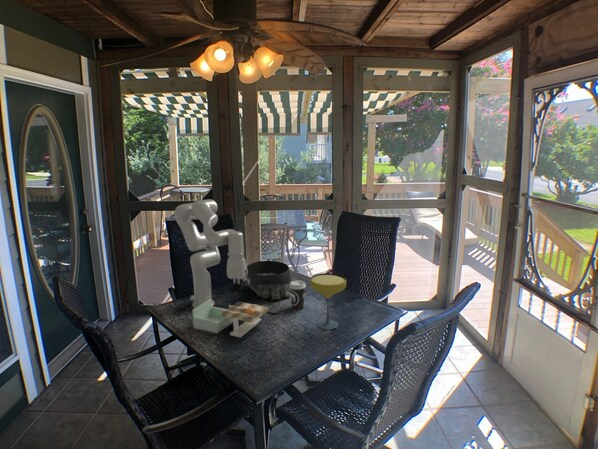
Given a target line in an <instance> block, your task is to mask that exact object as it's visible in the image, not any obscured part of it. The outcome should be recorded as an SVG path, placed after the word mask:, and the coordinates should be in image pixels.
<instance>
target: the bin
mask: <svg viewBox="0 0 598 449" xmlns="http://www.w3.org/2000/svg"><path fill="white" fill-rule="evenodd" d="M212 300H213V299H210V300H208V301H206V302H205V303H203V304H201V305H200V306H198V307H196V308H193V309H192V310H191V311H192V324H193V329H196V330H201V331H204V332H208V333H212V334H219V333H220V332H222V331H223V330H224V329H226V328H227V327H229V326H230V325H231V324H233V318H228V317H223V316H221V314H222V310H228V308H227V309H226V308H222V307H217V306H214V305H213V306H212Z"/></svg>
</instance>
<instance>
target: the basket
mask: <svg viewBox="0 0 598 449" xmlns="http://www.w3.org/2000/svg"><path fill="white" fill-rule="evenodd" d="M247 272H248V275H247V280H246V283H247V285H248V287H249V288H250V289H251V290H252V291H253V292H254V293H256V296H257V297H258V298H261V299H262V300H269V299H270V298H271V299H270V301H278V300H283V298H284V299H285V298H287V299H289V298H290V299H291V294H290V288H289V285H290V283H291V282H292V281H291V280H292V279H291V271H290V266H289V265H288V264H286V263H284V262H282V261H276V260H259V261H254V262H252V263H250V264H247Z"/></svg>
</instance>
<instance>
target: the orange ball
mask: <svg viewBox="0 0 598 449" xmlns="http://www.w3.org/2000/svg"><path fill="white" fill-rule="evenodd" d="M246 314H247V315H253V314H254V309H253V308H248V309H247V310H246Z"/></svg>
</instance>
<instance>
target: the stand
mask: <svg viewBox="0 0 598 449" xmlns="http://www.w3.org/2000/svg"><path fill="white" fill-rule="evenodd" d="M252 304H253V303H252ZM253 305H256V304H253ZM261 321H262V318H261V317H259V318H258V319H257V320H256V321H254V322H253V323H252V322H247V321H243V323H241V324H240V323H239V320H238V318H233V323H232V324H233V330H232V331H231V332H229V335H230V336H233V337H237V338H242V337H243V336H244V335H246V333H248V332H249V331H251V330H252V329H253V328H254V327H255V326H256V325H258V324H259V323H260V322H261ZM239 324H240V325H239Z"/></svg>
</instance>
